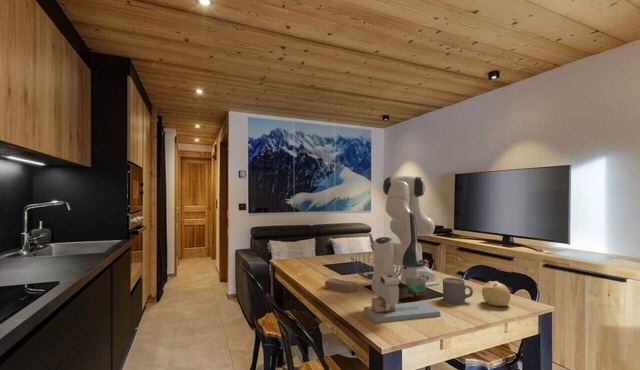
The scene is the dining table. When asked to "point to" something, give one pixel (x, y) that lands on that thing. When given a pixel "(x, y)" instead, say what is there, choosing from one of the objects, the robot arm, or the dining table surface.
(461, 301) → the coffee mug
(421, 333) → the dining table surface
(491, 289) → the pale yellow rounded lump
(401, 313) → the board
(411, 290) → the food container
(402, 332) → the dining table surface
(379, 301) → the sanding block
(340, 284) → the brick
